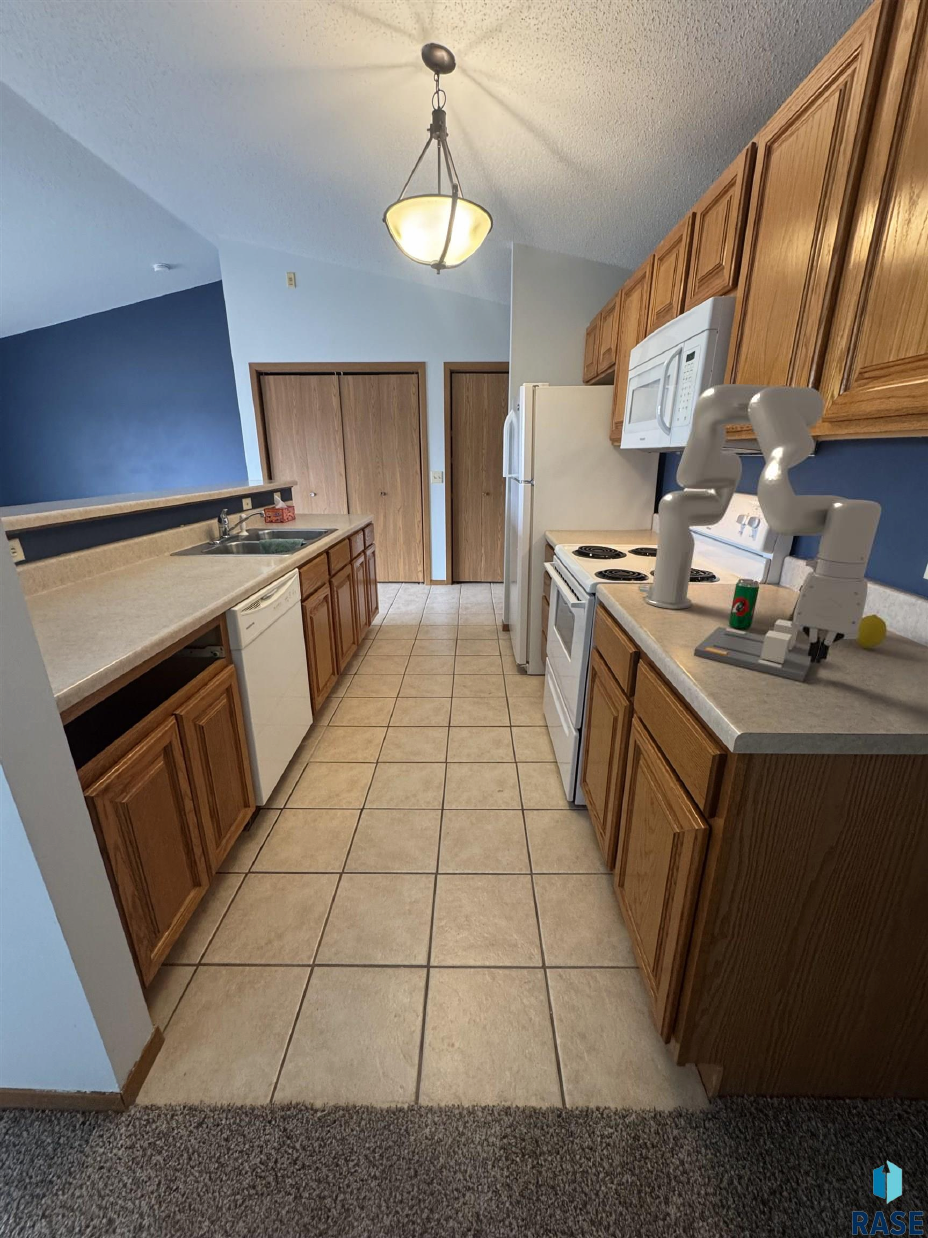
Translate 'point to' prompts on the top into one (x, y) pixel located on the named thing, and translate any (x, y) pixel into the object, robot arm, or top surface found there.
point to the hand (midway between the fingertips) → (815, 660)
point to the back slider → (786, 630)
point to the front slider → (776, 646)
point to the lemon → (871, 631)
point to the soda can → (744, 604)
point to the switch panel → (753, 653)
